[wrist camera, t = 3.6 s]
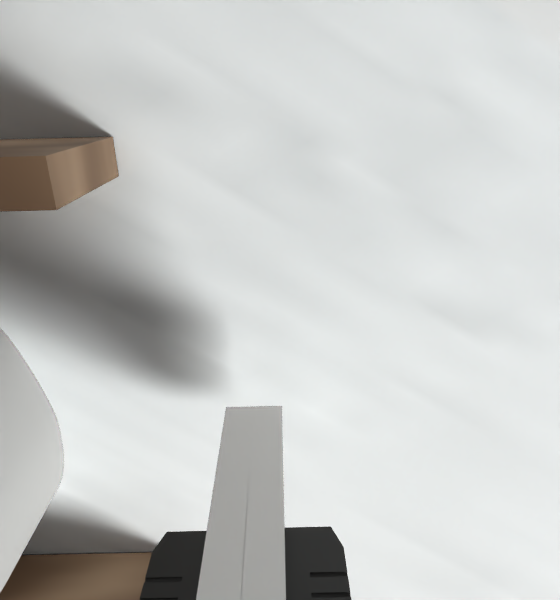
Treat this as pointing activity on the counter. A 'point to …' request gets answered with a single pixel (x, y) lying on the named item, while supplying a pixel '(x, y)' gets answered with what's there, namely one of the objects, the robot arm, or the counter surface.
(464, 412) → the counter surface
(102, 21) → the counter surface
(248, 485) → the robot arm
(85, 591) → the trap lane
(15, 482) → the lumpy-topped squat cylinder
